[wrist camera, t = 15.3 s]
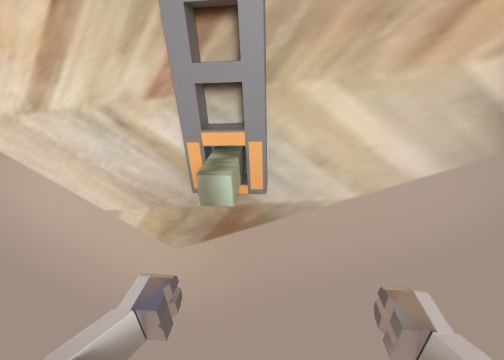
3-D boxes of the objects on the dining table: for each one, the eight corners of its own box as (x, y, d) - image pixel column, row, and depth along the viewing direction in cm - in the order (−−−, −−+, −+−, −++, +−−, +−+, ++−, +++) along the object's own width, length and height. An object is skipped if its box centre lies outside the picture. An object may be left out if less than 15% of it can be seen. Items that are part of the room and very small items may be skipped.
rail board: (264, -14, 30) (262, -25, 26) (267, 182, 43) (266, 194, 39) (169, -7, 31) (154, -16, 27) (199, 181, 44) (192, 193, 40)
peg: (243, 143, 40) (231, 175, 29) (245, 168, 42) (233, 206, 31) (217, 144, 40) (195, 175, 30) (220, 168, 42) (200, 205, 32)
